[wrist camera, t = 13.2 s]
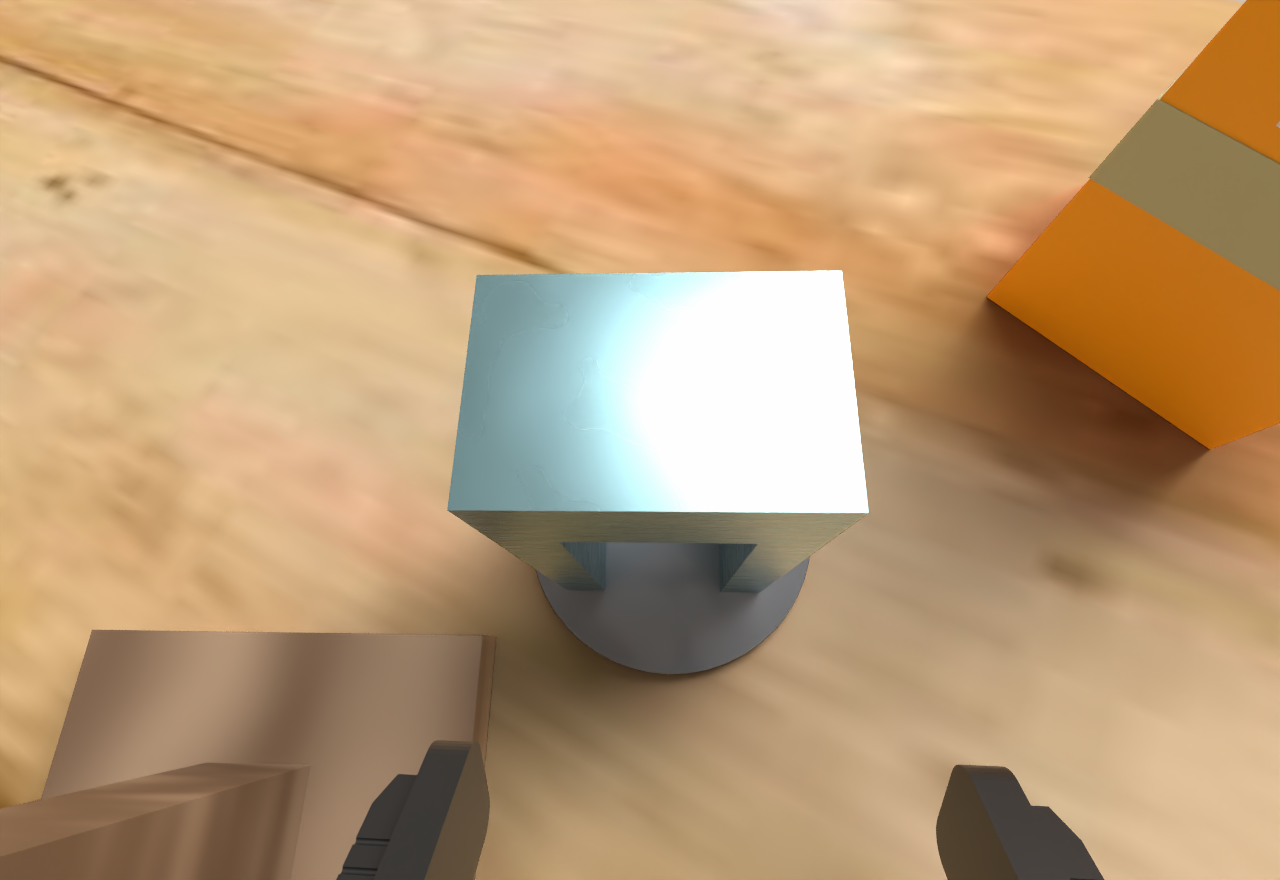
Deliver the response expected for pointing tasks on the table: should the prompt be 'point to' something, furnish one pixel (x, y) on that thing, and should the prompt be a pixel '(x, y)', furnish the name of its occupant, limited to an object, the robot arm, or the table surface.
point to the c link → (659, 419)
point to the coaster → (671, 608)
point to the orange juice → (1178, 246)
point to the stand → (239, 751)
